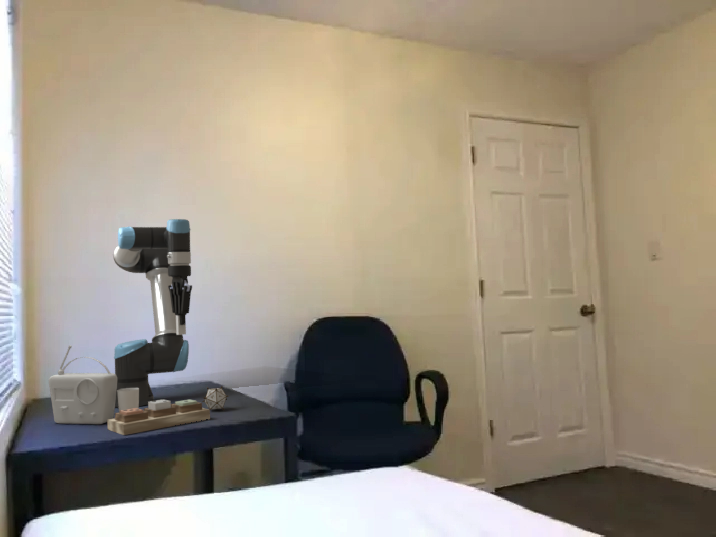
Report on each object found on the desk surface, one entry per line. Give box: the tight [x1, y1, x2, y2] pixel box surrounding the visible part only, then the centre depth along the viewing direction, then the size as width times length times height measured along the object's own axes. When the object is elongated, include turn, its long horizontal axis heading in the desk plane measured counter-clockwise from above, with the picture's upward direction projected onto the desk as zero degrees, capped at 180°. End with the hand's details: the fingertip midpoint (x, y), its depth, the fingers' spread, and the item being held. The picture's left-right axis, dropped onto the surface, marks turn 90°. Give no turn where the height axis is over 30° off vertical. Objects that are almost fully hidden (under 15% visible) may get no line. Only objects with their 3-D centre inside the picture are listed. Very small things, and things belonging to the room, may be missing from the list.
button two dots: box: [147, 399, 172, 410], centre depth 203 cm, size 5×5×3 cm
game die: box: [201, 385, 229, 411], centre depth 223 cm, size 9×8×10 cm
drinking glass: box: [117, 388, 140, 413], centre depth 211 cm, size 7×7×10 cm
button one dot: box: [174, 399, 198, 406], centre depth 209 cm, size 5×5×3 cm
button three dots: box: [120, 408, 144, 415], centre depth 197 cm, size 5×5×3 cm
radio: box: [48, 344, 117, 425], centre depth 211 cm, size 22×8×25 cm, turn 75°
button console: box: [106, 401, 211, 436], centre depth 203 cm, size 12×28×5 cm, turn 132°
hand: (181, 334), depth 222 cm, fingers closed
